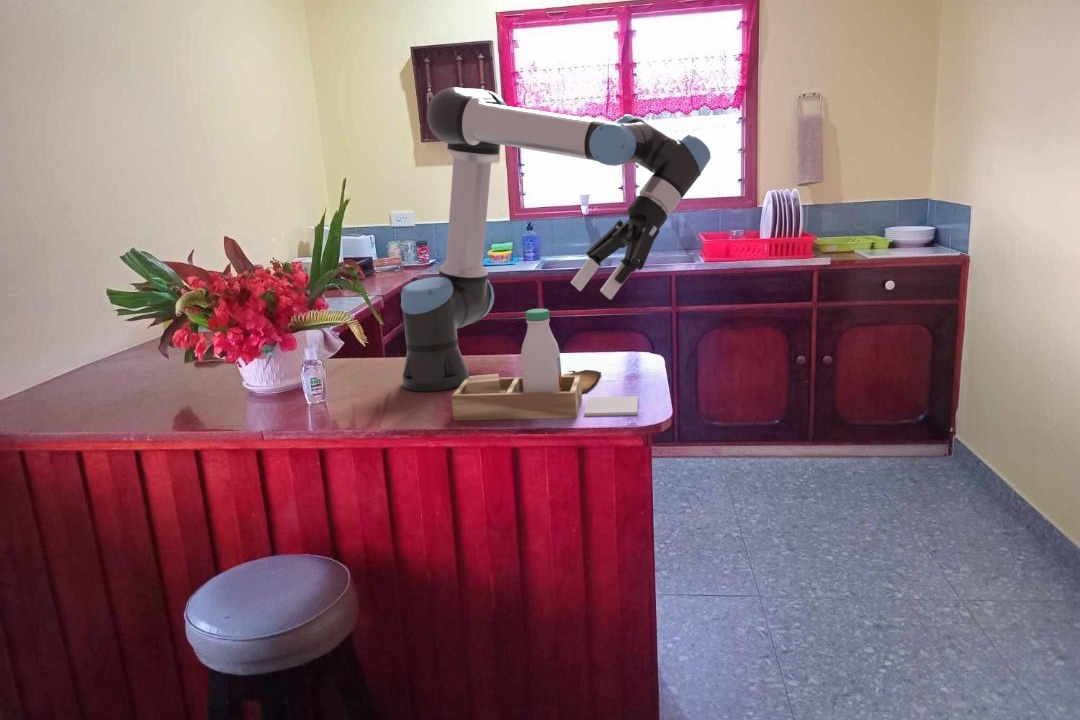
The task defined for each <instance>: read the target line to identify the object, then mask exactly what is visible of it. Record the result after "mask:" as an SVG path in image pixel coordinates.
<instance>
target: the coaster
mask: <svg viewBox="0 0 1080 720" xmlns="http://www.w3.org/2000/svg"><path fill="white" fill-rule="evenodd" d="M638 408H639V395H632V396H631V395H630V396H626V395H625V396H594V397H593V396H592V397H591V396H589V397H588V398H587V402H586V406H585V410H584V417H601V416H603V417H606V416H610V417H611V416H612V417H613V416H638Z"/></svg>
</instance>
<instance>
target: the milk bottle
mask: <svg viewBox="0 0 1080 720" xmlns="http://www.w3.org/2000/svg"><path fill="white" fill-rule="evenodd" d="M550 316H551V315H550V310H549V309H547V308H532V309H529V310H527V311H525V318H526V321H525V322H526V324H527V329H526V334H525V337H524V340H523V343H522V345H521V352H520V353H521V355H520V356H521V357H520V358H521V359H520V360H521V377H522V378H523V391H524V393H531V392H563V390H562V376H563V375H562V365H561V355H560V354H561V353H560V349H559V348H560V347H559V345H558V341H556V338H555V337H554V335H553V332H552V330H551V328H550V322H551V320H550Z"/></svg>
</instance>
